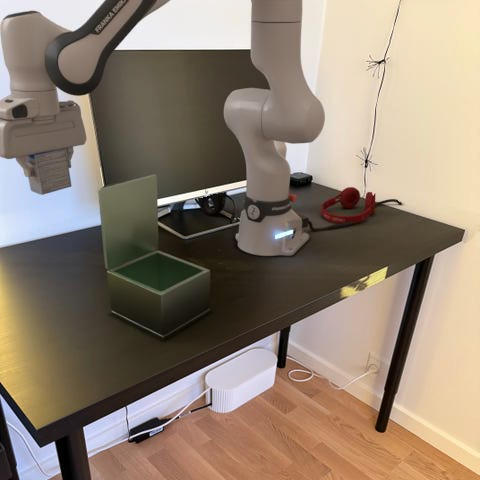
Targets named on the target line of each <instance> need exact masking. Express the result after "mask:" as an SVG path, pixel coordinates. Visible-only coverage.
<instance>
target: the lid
mask: <svg viewBox="0 0 480 480" xmlns="http://www.w3.org/2000/svg"><path fill="white" fill-rule="evenodd" d="M97 195H98V203H99V204H98V206H99V217H100V227H101V228H100V229H101V237H102V238H101V239H102V249H103V259H104V261H103V262H104V268H105V269H106V270H111V269H113V268H116V267H118V266H120V265H123V264H125V263H128V262H130V261H132V260H135V259H137V258H140V257H142V256H145V255H147V254H149V253H152V252H154V251H157V250H159V246H160V245H159V207H158V204H159V203H158V174H149V175H146V176H142V177H138V178H134V179H131V180H127V181H126V180H123V181H118V182H115V183H110V184H107V185H103V186H102V187H101V188H98V189H97Z"/></svg>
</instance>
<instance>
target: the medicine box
mask: <svg viewBox="0 0 480 480" xmlns="http://www.w3.org/2000/svg"><path fill="white" fill-rule="evenodd" d="M27 160H28V161H25V162H26V163H27V165H28V166H29V167H31V168H34V173H35V176H33V177H27V178H28V183H29V188H30V191H31V192H33V193H35V194H38V195H40V196H41V195H42V196H44V195H46V194H50V193H55V192H57V191H60V190H64V189H68V188H71V187H72V186H73V185H72V179H71V172H70V168H69V166H68V159H67V153H66V149H59V150H54V151H49V152H44V153H38V154H33V155H28V156H27Z"/></svg>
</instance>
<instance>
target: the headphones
mask: <svg viewBox="0 0 480 480" xmlns="http://www.w3.org/2000/svg"><path fill="white" fill-rule="evenodd" d="M337 199H338V200H337ZM360 199H361V193H360V190H358V188H356V187H354V186H347V187H346V188H344V189H343V190H342V191H341V192H340V193H339V194H337V195H336V196H334V197H331V198H328V199H327V200H326V201H324V202H323V203H322V204H321V217H322V218H323V219H325V220H326V221H328V222H331V223H334V224H343V223H348V222H355V223H356V224H358V223H361V222H363V221H365V220H366V219H368V218H369V217H370V216H371V215H372V213H373V214H374V211H376V206H375V203H376V193H373V192H372V191H367V192H366V194H365V200H364V212H362V213H359V214H356V215H337V214H333V213H330V212H328V211H327V209H328V208H330V207H333V206H335V205H337V204H338V203H340V205H341V207H343V208H345V209H348V210H349V209H352V208H354V207H355V206H357V205H358V203H359V202H360Z"/></svg>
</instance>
